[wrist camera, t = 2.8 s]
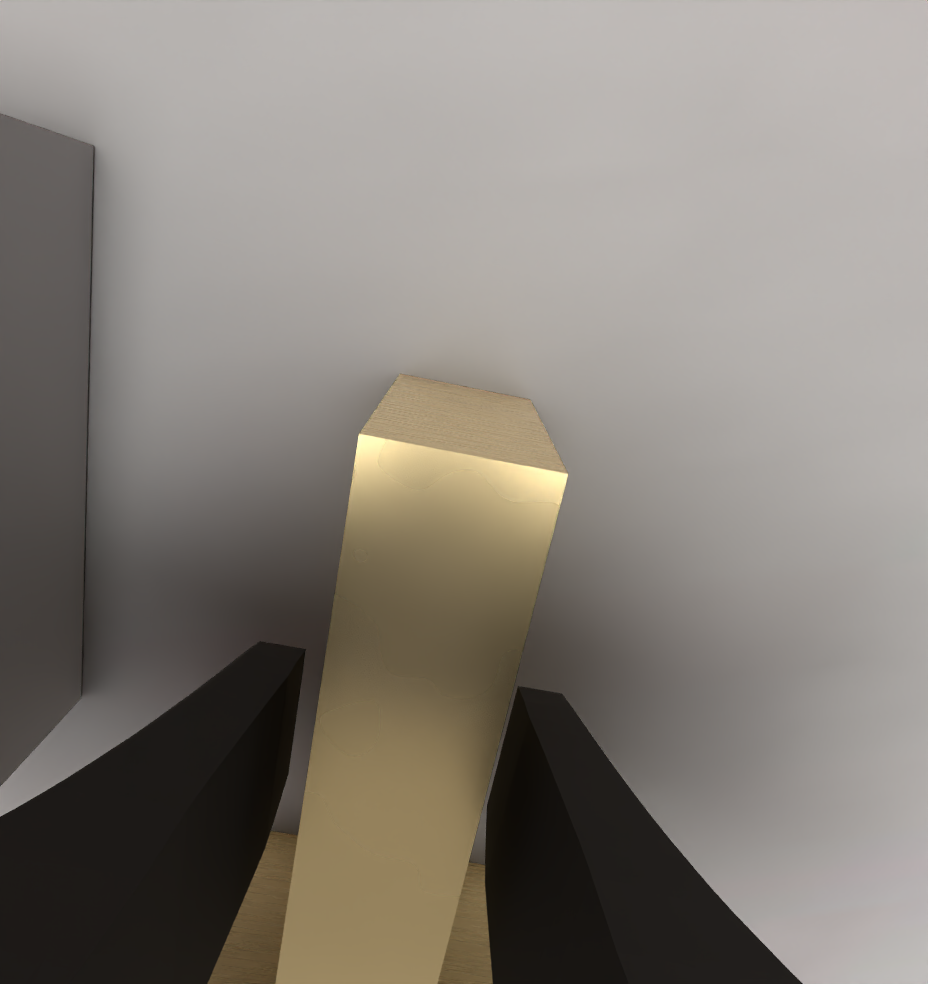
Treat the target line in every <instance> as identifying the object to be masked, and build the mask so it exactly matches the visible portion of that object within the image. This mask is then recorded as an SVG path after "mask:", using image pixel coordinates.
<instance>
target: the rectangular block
mask: <svg viewBox="0 0 928 984" xmlns="http://www.w3.org/2000/svg"><path fill="white" fill-rule="evenodd" d="M567 477H568V472H567V471H566V469H565V467H564V465H563V463H562V461H561V459H560V457H559V455H558V453H557V451H556V449H555V447H554V445H553V443H552V441H551V439H550V437H549V435H548V433H547V431H546V429H545V428H544V426H543V424H542V422H541V420H540V418H539V416H538V414H537V412H536V410H535V408H534V406H533V404H532V402H531V400H530V399H525V398H520V397H514V396H509V395H504V394H499V393H494V392H489V391H484V390H479V389H474V388H469V387H464V386H459V385H454V384H449V383H444V382H439V381H434V380H429V379H424V378H419V377H414V376H409V375H404V374H399V376H398V377H397V379H396V380H395V382H394V383H393V385H392V386H391V387H390V389H389V390H388V392H387V393H386V395H385V396H384V398H383V399H382V401H381V402H380V404H379V405H378V407H377V408H376V410H375V411H374V412H373V414H372V415H371V417H370V418H369V420H368V421H367V423H366V424H365V426H364V427H363V429H362V430H361V432H360V433H359V437H358V444H357V450H356V457H355V463H354V470H353V477H352V483H351V490H350V496H349V503H348V509H347V516H346V523H345V529H344V536H343V542H342V549H341V555H340V562H339V569H338V575H337V582H336V588H335V595H334V602H333V608H332V615H331V621H330V628H329V634H328V641H327V648H326V654H325V661H324V667H323V674H322V680H321V687H320V694H319V700H318V707H317V713H316V720H315V727H314V733H313V740H312V746H311V753H310V759H309V766H308V773H307V779H306V786H305V792H304V799H303V805H302V812H301V819H300V825H299V832H298V835H293V834H286V833H280V832H274V831H270V835H269V838H268V841H267V844H266V847H265V850H264V852H263V855H262V857H261V859H260V862H259V864H258V867H257V869H256V871H255V874H254V876H253V878H252V881H251V883H250V886H249V888H248V890H247V893H246V895H245V897H244V900H243V902H242V904H241V907H240V909H239V911H238V914H237V916H236V918H235V921H234V923H233V925H232V928H231V930H230V932H229V935H228V937H227V939H226V942H225V944H224V946H223V949H222V951H221V953H220V956H219V958H218V960H217V963H216V965H215V967H214V970H213V972H212V974H211V977H210V979H209V981H208V984H493V981H492V969H491V956H490V944H489V931H488V919H487V906H486V892H485V865H482V864H476V863H469V859H470V855H471V851H472V847H473V843H474V840H475V836H476V832H477V828H478V824H479V820H480V816H481V812H482V808H483V804H484V801H485V797H486V793H487V789H488V785H489V781H490V777H491V773H492V769H493V766H494V762H495V758H496V754H497V750H498V746H499V742H500V738H501V734H502V730H503V727H504V723H505V719H506V715H507V711H508V707H509V703H510V699H511V695H512V692H513V688H514V684H515V680H516V676H517V672H518V668H519V664H520V660H521V656H522V653H523V649H524V645H525V641H526V637H527V633H528V629H529V625H530V621H531V618H532V614H533V610H534V606H535V602H536V598H537V594H538V590H539V586H540V582H541V579H542V575H543V571H544V567H545V563H546V559H547V555H548V551H549V547H550V544H551V540H552V536H553V532H554V528H555V524H556V520H557V516H558V512H559V508H560V505H561V501H562V497H563V493H564V489H565V485H566V481H567Z"/></svg>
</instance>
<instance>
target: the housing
mask: <svg viewBox="0 0 928 984" xmlns="http://www.w3.org/2000/svg"><path fill="white" fill-rule="evenodd" d="M92 190H93V145H90V144H87V143H84V142H81V141H78V140H75V139H73V138H70V137H67V136H64V135H61V134H58V133H55V132H52V131H49V130H47V129H44V128H41V127H38V126H35V125H32V124H29V123H26V122H24V121H21V120H18V119H15V118H12V117H9V116H6V115H3V114H0V786H1V785H2V784H3V783H4V782H5V781H6V780H7V779H8V778H9V776H10V775H11V774H12V773H13V772H14V771H15V770H16V769H17V768H18V767H19V766H20V764H21V763H22V762H23V761H24V760H25V759H26V758H27V757H28V756H29V755H30V753H31V752H32V751H33V750H34V749H35V748H36V747H37V746H38V745H39V744H40V743H41V741H42V740H43V739H44V738H45V737H46V736H47V735H48V734H49V733H50V732H51V731H52V729H53V728H54V727H55V726H56V725H57V724H58V723H59V722H60V721H61V720H62V719H63V717H64V716H65V715H66V714H67V713H68V712H69V711H70V710H71V709H72V708H73V706H74V705H75V704H76V703H77V702H78V701H79V700H80V699H81V681H82V637H83V592H84V547H85V503H86V458H87V413H88V368H89V324H90V279H91V234H92Z"/></svg>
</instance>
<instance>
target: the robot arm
mask: <svg viewBox="0 0 928 984" xmlns="http://www.w3.org/2000/svg"><path fill="white" fill-rule="evenodd" d="M305 651H306V649H301V648H295V647H289V646H284V645H278V644H272V643H266V642H261V641H260V642H259V643H257V644H256V645H254V646H252V647H251V648H250V649H248V650H247V651H246V652H244V653H243V654H242V655H240V656H239V657H238V658H237V659H235V660H234V661H233V662H232V663H230V664H229V665H228V666H227V667H225V668H224V669H223V670H221V671H220V672H219V673H218V674H216V675H215V676H214V677H212V678H211V679H210V680H208V681H207V682H206V683H205V684H203V685H202V686H201V687H199V688H198V689H197V690H195V691H194V692H193V693H191V694H190V695H189V696H187V697H186V698H185V699H183V700H182V701H180V702H179V703H178V704H176V705H175V706H174V707H172V708H171V709H169V710H168V711H167V712H165V713H164V714H162V715H161V716H160V717H158V718H157V719H155V720H154V721H153V722H151V723H150V724H149V725H147V726H146V727H144V728H143V729H141V730H140V731H139V732H137V733H136V734H134V735H133V736H131V737H130V738H128V739H127V740H125V741H124V742H122V743H121V744H119V745H117V746H116V747H114V748H113V749H111V750H110V751H108V752H107V753H105V754H104V755H102V756H101V757H99V758H97V759H96V760H94V761H93V762H91V763H90V764H88V765H87V766H85V767H84V768H82V769H81V770H79V771H77V772H76V773H74V774H73V775H71V776H70V777H68V778H66V779H65V780H63V781H62V782H60V783H58V784H57V785H55V786H53V787H52V788H50V789H48V790H46V791H45V792H43V793H41V794H40V795H38V796H36V797H35V798H33V799H31V800H30V801H28V802H26V803H24V804H23V805H21V806H19V807H17V808H16V809H14V810H12V811H10V812H8V813H7V814H5V815H3V816H1V817H0V984H208V981H209V979H210V977H211V974H212V972H213V970H214V967H215V965H216V963H217V960H218V958H219V956H220V953H221V951H222V949H223V946H224V944H225V942H226V939H227V937H228V935H229V932H230V930H231V928H232V925H233V923H234V921H235V918H236V916H237V914H238V911H239V909H240V907H241V904H242V902H243V900H244V897H245V895H246V893H247V890H248V888H249V886H250V883H251V881H252V878H253V876H254V874H255V871H256V869H257V867H258V864H259V862H260V859H261V857H262V855H263V852H264V850H265V847H266V844H267V841H268V838H269V835H270V831H271V828H272V825H273V822H274V819H275V816H276V812H277V809H278V806H279V802H280V799H281V796H282V793H283V789H284V786H285V783H286V779H287V776H288V772H289V765H290V758H291V751H292V743H293V736H294V729H295V722H296V715H297V708H298V701H299V694H300V687H301V680H302V673H303V666H304V658H305ZM485 892H486V906H487V919H488V931H489V944H490V956H491V969H492V981H493V984H803V983H801V982H800V981H799V980H798V979H797V978H796V977H795V976H794V975H793V974H792V973H791V972H790V971H789V970H788V969H787V968H786V967H785V966H784V965H783V964H782V963H781V962H780V960H779V959H778V958H777V957H776V956H775V955H774V954H773V953H772V952H771V951H770V950H769V949H768V948H767V947H766V946H765V945H764V944H763V943H762V942H761V941H760V940H759V939H758V938H757V937H756V936H755V935H754V934H753V932H752V931H751V930H750V929H749V928H748V927H747V926H746V925H745V924H744V923H743V922H742V921H741V920H740V919H739V918H738V917H737V916H736V915H735V914H734V913H733V912H732V911H731V909H730V908H729V907H728V906H727V905H726V904H725V903H724V902H723V901H722V900H721V898H720V897H719V896H718V895H717V894H716V893H715V892H714V891H713V890H712V888H711V887H710V886H709V885H708V884H707V883H706V882H705V880H704V879H703V878H702V877H701V876H700V874H699V873H698V872H697V871H696V870H695V869H694V867H693V866H692V865H691V864H690V863H689V862H688V860H687V859H686V858H685V857H684V856H683V854H682V853H681V852H680V851H679V850H678V849H677V847H676V846H675V845H674V844H673V843H672V841H671V840H670V839H669V838H668V837H667V835H666V834H665V833H664V832H663V830H662V829H661V828H660V827H659V825H658V824H657V823H656V822H655V820H654V819H653V818H652V817H651V815H650V814H649V813H648V811H647V810H646V809H645V808H644V806H643V805H642V804H641V802H640V801H639V800H638V799H637V797H636V796H635V795H634V793H633V792H632V791H631V789H630V788H629V787H628V785H627V784H626V783H625V781H624V780H623V779H622V777H621V776H620V774H619V773H618V772H617V770H616V769H615V768H614V766H613V765H612V764H611V762H610V761H609V759H608V758H607V757H606V755H605V754H604V752H603V751H602V750H601V748H600V747H599V745H598V744H597V743H596V741H595V740H594V738H593V737H592V735H591V734H590V733H589V731H588V730H587V728H586V727H585V725H584V724H583V723H582V721H581V720H580V718H579V717H578V715H577V714H576V713H575V711H574V710H573V708H572V707H571V705H570V704H569V703H568V701H567V700H566V699H565V697H564V696H563V695H562V694H560V693H554V692H548V691H542V690H537V689H531V688H525V687H519V686H518V688H517V692H516V696H515V700H514V704H513V708H512V712H511V715H510V719H509V723H508V727H507V731H506V735H505V739H504V742H503V746H502V750H501V754H500V758H499V762H498V766H497V769H496V773H495V777H494V781H493V785H492V789H491V793H490V796H489V800H488V804H487V820H486V850H485Z"/></svg>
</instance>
